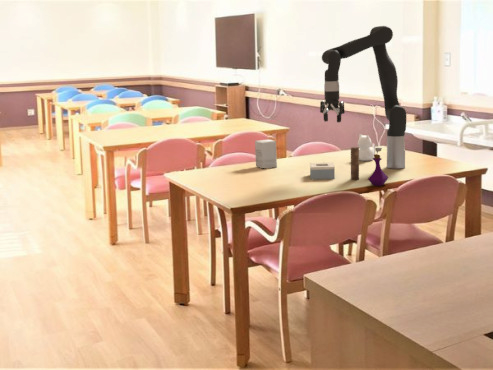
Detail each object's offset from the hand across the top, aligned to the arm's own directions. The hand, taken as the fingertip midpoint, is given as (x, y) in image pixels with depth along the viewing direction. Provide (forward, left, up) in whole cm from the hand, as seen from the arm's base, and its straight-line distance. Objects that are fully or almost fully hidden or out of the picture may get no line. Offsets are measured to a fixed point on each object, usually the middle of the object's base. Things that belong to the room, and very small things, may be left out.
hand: (332, 121), depth 367 cm
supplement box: (+36, -23, -28) cm, 51 cm away
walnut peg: (-10, +15, -27) cm, 33 cm away
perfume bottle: (-20, +29, -28) cm, 45 cm away
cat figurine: (-21, -39, -28) cm, 52 cm away
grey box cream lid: (+6, +7, -27) cm, 29 cm away
